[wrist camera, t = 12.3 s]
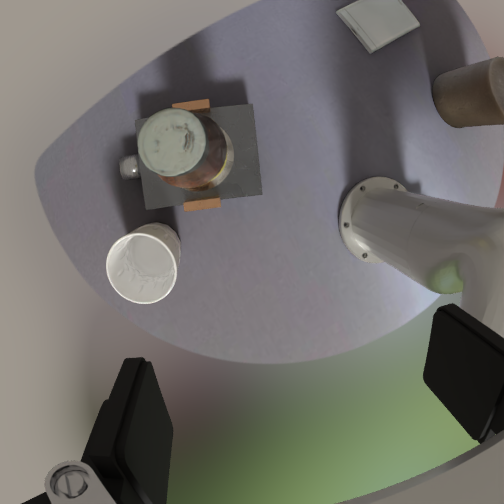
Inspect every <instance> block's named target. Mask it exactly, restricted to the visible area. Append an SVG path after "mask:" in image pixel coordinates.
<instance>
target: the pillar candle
mask: <svg viewBox="0 0 504 504" xmlns="http://www.w3.org/2000/svg"><path fill="white" fill-rule="evenodd" d="M432 93H433V100H434V103H435V106H436V108H437V111H438V113H439V114H440V116H441V118H442V119H443V120H444V121H445V122H446V123H447V124H449V125H450V126H452V127H455V128H462V127H468V126H469V127H472V126H482V125H503V124H504V58H503V57H496V58H493V59H489V60H486V61H482V62H478V63H475V64H471V65H468V66H465V67H461V68H458V69H455V70H452V71H449V72H446V73H443V74H441V75H439V76H438V77H437V78H436V79H435V81H434V84H433V91H432Z"/></svg>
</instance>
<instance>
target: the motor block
mask: <svg viewBox="0 0 504 504" xmlns="http://www.w3.org/2000/svg"><path fill="white" fill-rule="evenodd" d="M172 108H181V109H186V110H188V111H190V112H192V113H200V114H203V115H205V116H208V117H209V118H211V119H212V120H213V121H215V122H216V123H217V124H218V126H219V127H220V128H221V130H222V132H223V134H224V136H225V139H226V143H227V161H226V165H225V167H224V169H223V171H222V172H221V173H220V174H219V175H218V176H217V177H216V178H215V179H213V180H212V181H210V182H208V183H206V184H204V185H202V186H198V187H193V188H181V187H176V186H172V185H170V184H168V183H166V182H165V181H163V180H162V179H161V178H160V177H159V176H158V175H157V174H156V173H154V172H152V171H151V170H149V169H148V168H147V167H146V166H145V164H144V163H143V162H142V160H141V158H140V155H139V153H138V154H134V155H129V156H124V157H121V158H120V162H119V166H120V173H121V176H122V178H123V180H129V179H134V178H140V177H141V180H142V187H143V194H144V201H145V208H146V210H150V209H157V208H163V207H170V206H177V205H184V211H185V212H187V211H194V210H201V209H209V208H216V207H221V202H220V200H221V199H229V198H237V197H246V196H255V195H262V186H261V176H260V166H259V157H258V148H257V138H256V129H255V120H254V111H253V104H244V105H233V106H223V107H214V108H210V104H209V99H204V100H196V101H189V102H182V103H176V104H172ZM148 119H149V118H144V119H138V120H135V126H136V137H137V141H138V136H139V132H140V129H141V128H142V126H143V124H144V123H145V121H147V120H148Z"/></svg>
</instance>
